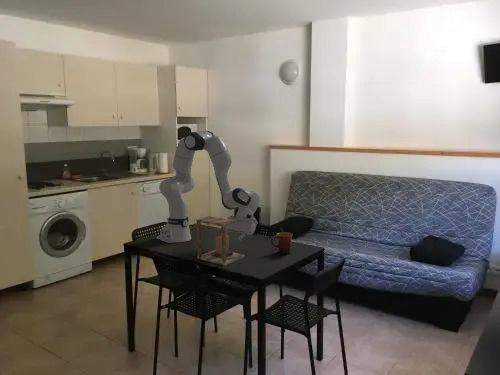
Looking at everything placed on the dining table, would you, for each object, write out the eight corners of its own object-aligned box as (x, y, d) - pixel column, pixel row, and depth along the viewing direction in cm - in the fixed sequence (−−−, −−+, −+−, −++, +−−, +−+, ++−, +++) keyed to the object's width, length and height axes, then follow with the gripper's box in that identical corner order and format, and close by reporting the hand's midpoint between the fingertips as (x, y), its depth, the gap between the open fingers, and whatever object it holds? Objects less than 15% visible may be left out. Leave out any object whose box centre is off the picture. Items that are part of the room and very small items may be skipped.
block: (215, 255, 227) (215, 237, 225) (222, 253, 230) (221, 235, 229) (223, 257, 223) (222, 238, 222) (229, 254, 227) (228, 236, 226)
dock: (197, 258, 225) (196, 219, 222) (218, 251, 238) (217, 213, 235) (224, 265, 214) (223, 224, 211) (244, 257, 227) (244, 218, 224)
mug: (289, 249, 239) (289, 231, 238) (294, 254, 231) (294, 235, 229) (269, 251, 237) (268, 233, 236) (272, 255, 229) (272, 237, 227)
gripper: (226, 212, 243) (215, 232, 237) (255, 216, 230) (244, 238, 224) (231, 218, 247) (220, 238, 241) (260, 223, 234) (249, 244, 228)
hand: (232, 238), depth 232 cm, fingers open, 8 cm apart
